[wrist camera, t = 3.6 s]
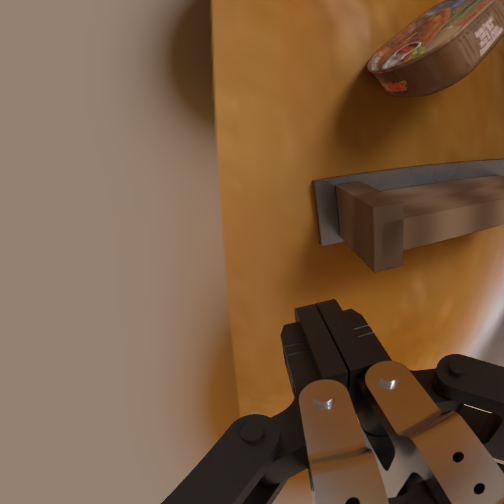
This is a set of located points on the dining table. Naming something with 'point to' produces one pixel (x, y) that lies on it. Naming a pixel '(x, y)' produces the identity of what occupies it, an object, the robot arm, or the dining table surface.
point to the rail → (392, 186)
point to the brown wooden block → (415, 216)
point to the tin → (439, 47)
